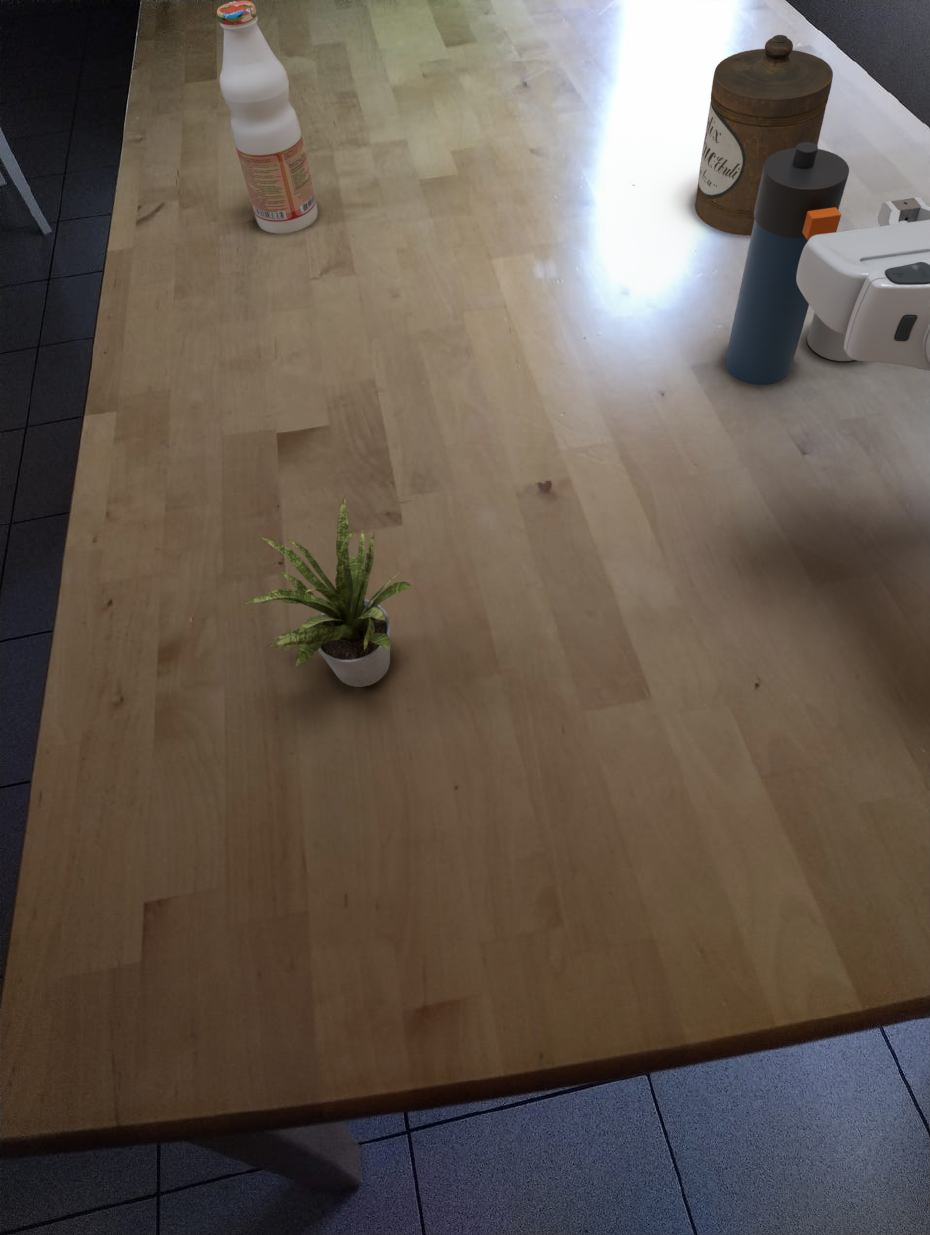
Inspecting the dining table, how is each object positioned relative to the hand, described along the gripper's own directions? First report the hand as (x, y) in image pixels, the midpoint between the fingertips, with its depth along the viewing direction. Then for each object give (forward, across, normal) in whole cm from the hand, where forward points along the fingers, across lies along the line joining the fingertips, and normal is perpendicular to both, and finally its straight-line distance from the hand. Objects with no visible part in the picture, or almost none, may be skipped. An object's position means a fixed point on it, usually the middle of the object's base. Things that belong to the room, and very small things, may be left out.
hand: (897, 207), depth 70 cm
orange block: (+11, 0, +9) cm, 14 cm away
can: (+19, -11, +29) cm, 36 cm away
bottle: (+17, 0, +29) cm, 34 cm away
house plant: (-16, +50, +30) cm, 60 cm away
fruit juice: (+65, +56, +30) cm, 91 cm away
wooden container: (+51, -10, +29) cm, 59 cm away
